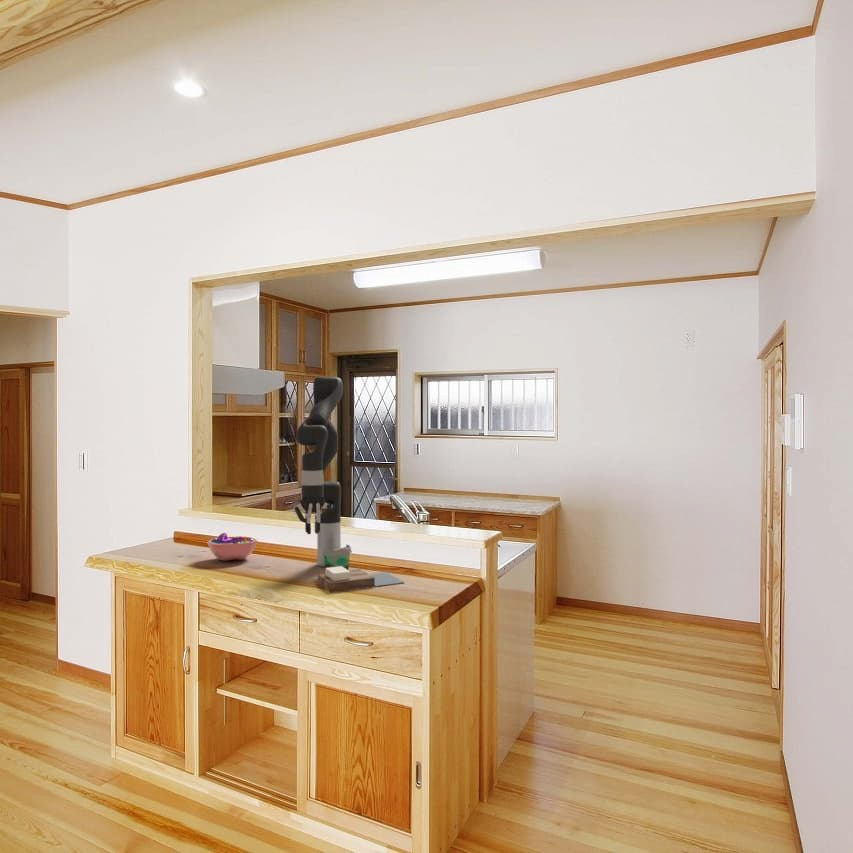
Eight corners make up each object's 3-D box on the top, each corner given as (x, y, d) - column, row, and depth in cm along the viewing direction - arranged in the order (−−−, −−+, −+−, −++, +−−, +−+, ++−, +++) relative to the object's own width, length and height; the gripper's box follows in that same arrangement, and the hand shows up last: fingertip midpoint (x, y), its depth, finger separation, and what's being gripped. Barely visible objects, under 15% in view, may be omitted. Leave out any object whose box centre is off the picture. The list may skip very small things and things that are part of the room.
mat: (359, 576, 232) (359, 575, 232) (386, 573, 237) (386, 572, 237) (375, 587, 218) (375, 585, 218) (404, 583, 223) (404, 582, 223)
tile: (325, 574, 223) (325, 567, 222) (341, 573, 225) (341, 566, 225) (333, 580, 214) (333, 573, 214) (350, 578, 217) (350, 571, 217)
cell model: (250, 565, 250) (250, 536, 250) (200, 564, 251) (200, 536, 250) (262, 555, 267) (262, 529, 267) (215, 555, 268) (215, 529, 267)
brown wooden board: (318, 582, 224) (317, 574, 224) (360, 577, 231) (360, 569, 231) (330, 592, 211) (330, 583, 211) (374, 586, 219) (374, 577, 219)
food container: (333, 579, 228) (333, 551, 228) (322, 576, 232) (322, 549, 232) (358, 572, 238) (358, 546, 238) (347, 570, 242) (347, 544, 242)
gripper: (328, 481, 222) (328, 530, 222) (289, 483, 215) (289, 533, 216) (335, 483, 215) (335, 533, 215) (295, 485, 209) (295, 537, 209)
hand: (312, 533), depth 216 cm, fingers closed
